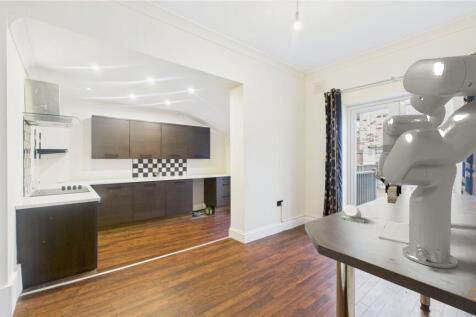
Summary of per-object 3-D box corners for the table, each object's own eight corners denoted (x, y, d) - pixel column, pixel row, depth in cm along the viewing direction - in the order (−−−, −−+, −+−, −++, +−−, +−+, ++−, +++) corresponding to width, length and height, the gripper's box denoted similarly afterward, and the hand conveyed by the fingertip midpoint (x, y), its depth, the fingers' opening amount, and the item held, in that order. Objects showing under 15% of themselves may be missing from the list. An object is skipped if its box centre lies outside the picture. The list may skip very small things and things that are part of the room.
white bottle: (361, 222, 110) (364, 211, 111) (356, 217, 102) (359, 206, 103) (348, 218, 114) (351, 208, 115) (342, 213, 106) (345, 202, 107)
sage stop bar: (363, 223, 101) (363, 220, 101) (340, 218, 108) (340, 216, 108) (364, 222, 102) (364, 219, 102) (342, 218, 109) (342, 215, 109)
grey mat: (408, 244, 77) (408, 242, 77) (378, 238, 83) (378, 236, 83) (414, 226, 96) (414, 225, 96) (389, 222, 102) (389, 220, 102)
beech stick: (395, 203, 84) (395, 191, 83) (387, 202, 85) (387, 190, 85) (399, 191, 97) (399, 180, 97) (392, 190, 99) (392, 179, 98)
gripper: (419, 149, 86) (419, 196, 87) (372, 150, 97) (371, 191, 97) (419, 149, 80) (418, 199, 81) (368, 149, 91) (368, 194, 91)
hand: (393, 194), depth 89 cm, fingers closed on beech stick, 2 cm apart
